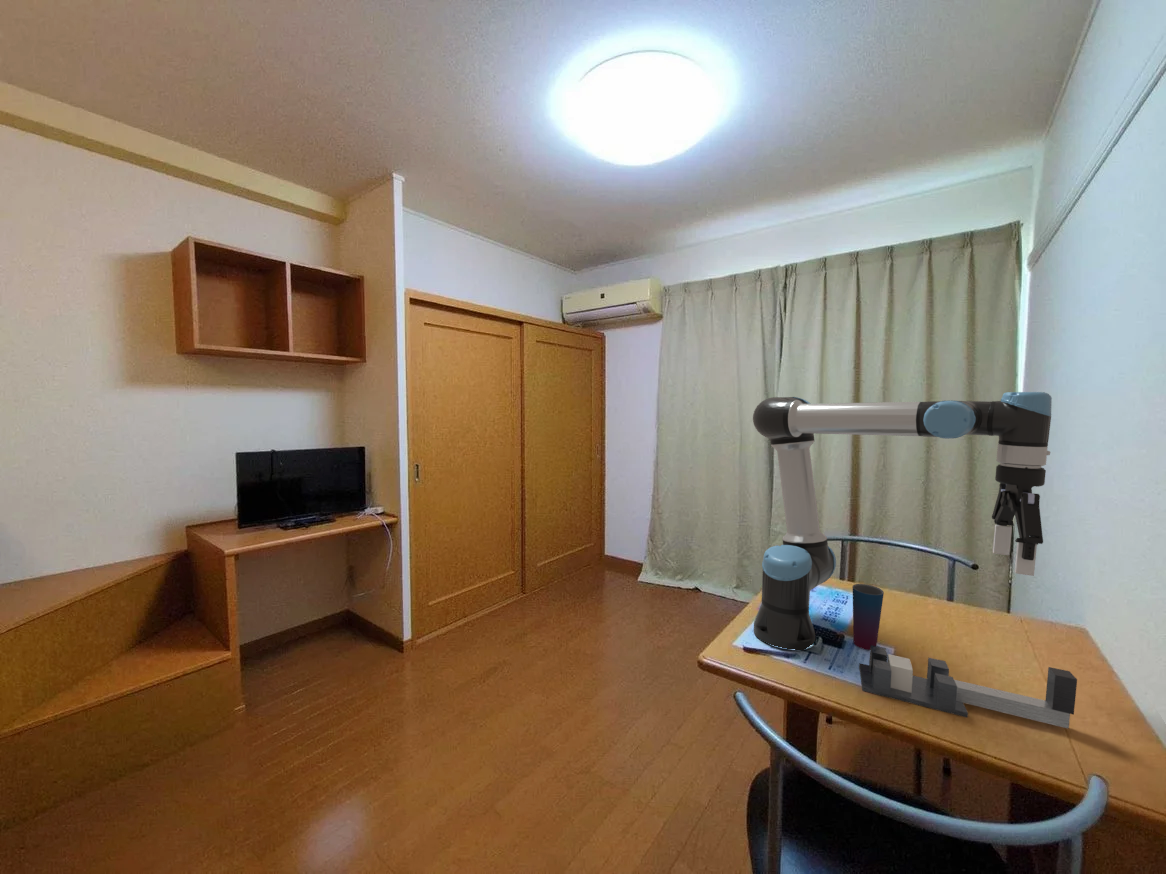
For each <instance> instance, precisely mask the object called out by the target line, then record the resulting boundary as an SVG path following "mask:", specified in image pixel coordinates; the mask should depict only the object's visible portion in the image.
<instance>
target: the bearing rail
mask: <svg viewBox="0 0 1166 874" xmlns="http://www.w3.org/2000/svg"><path fill="white" fill-rule="evenodd" d="M868 663H869V664H865V663H862V662H859V664H858V669H859V675H860V682H861V683H860V684H861V690H862V692H867V693H870V694H873V695H878V696H881V697H886V698H889V699H894V700H897V701H900V702H904V703H908V704H912V705H916V706H921V707H925V708H928V709H932V710H936V711H940V712H944V713H948V714H952V715H955V716H959V717H963V718H968V717H969V712H968V710H967V708H966V706H965V703H962V702H958V701H956V695H957V685H956V683H955V681H954V680H955V679H954V677H953V676H951V675H950V668H949V666H948V664H947V662H946V660H941V659H937V658H932V657H928V658H927V671H926V672H927V674H926V678H925V677H921V676H916V675H913V677H912V692H911V693H910V692H906V691H902V690H898V689H894V688H891V667H890V663H889V662H888V652H887V649H886V648H885V647H882V646H881V647H880V646H873V645H870V650H869V661H868Z"/></svg>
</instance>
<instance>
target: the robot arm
mask: <svg viewBox="0 0 1166 874" xmlns="http://www.w3.org/2000/svg"><path fill="white" fill-rule="evenodd" d="M1052 399H1053V398H1052V395H1050V394H1049V393H1047V392H1045V391H1044V392H1043V391H1011V392H1010V391H1009V392H1008V391H1006V392H1004V393H1003V394H1002V396H1001V398H1000V400H995V401H994V400H991V401H982V400H980V401H979V400H977V401H976V400H953V399H952V400H951V399H950V400H942V401H941V400H938V401H937V400H936V401H935V400H934V401H932V400H931V401H930V400H929V401H892V402H891V401H884V402H883V401H879V402H877V401H876V402H837V403H836V402H833V403H832V402H831V403H829V402H827V403H820V402H819V403H812V402H809V401H808V400H806V399H804V398H801V397H797V396H796V397H795V396H785V397H784V396H783V397H779V396H774V397H769V398H768V397H767V398H766V399H764V400H762V401H761V402H760V403H758V405H757V406H756V407H755V409H754V411H753V415H752V421H753V426H754V427H755V429H756V431H757V432H758V433H759V434H760V435H762V436H763V437H765V438H768V439H769V442H770V446H771V447H772V448H773V449H775V450H776V453H777V460H778V469H779V476H780V485H781V493H782V500H783V509H784V516H785V526H786V533H785V535H783V536H782V544H781V545H774V546H770V547H769V548H767V549H766V550H765V552H764V554H763V556H762V557H763V558H762V563H761V566H762V567H761V568H762V572H761V573H762V576H761V578H762V579H761V582H762V584H761V603H760V606H759V608H758V611H757V614H756V616H755V618H754V620H753V621H754V622H753V633H754V635H755V636H756V637H757V639H759V640H760V639H761V640H763V641H765V642H767V643H769V644H771V645H774V646H778V647H782V648H787V649H795V650H802V651H805V650H804V649H806V648H807V647H809V646H810V645H812V644H813V643H814V641H815V642H816V633H815V632H816V631H815V628H814V625H813V622H812V618H811V615H810V596H811V591H812V590H813V589H815V588H817V587H818V586H819V585H822V584H823V583H825V582H827V581H828V580H829V579H830V578H831V577H832V575H834V573H835V570H836V567H837V558H836V555H835V552H834V551H833V549H832V548H831V547H830V546H829V544H828V538H827V536H826V535H825V534H824V533H822V532H821V529H820V528H821V527H820V522H819V521H820V519H819V512H818V505H817V498H816V497H817V496H816V489H815V482H814V475H813V474H814V473H813V465H812V459H811V450H810V448H811V446H812V445H813V444H815V435H816V434H817V435H818V434H819V435H820V434H821V435H822V434H823V435H855V436H856V435H857V436H858V435H860V436H892V437H893V436H898V437H899V436H900V437H903V436H904V437H922V438H923V437H925V438H926V437H928V438H931V437H933V438H939V439H958V438H961V437H964V436H965V435H967V436H970V435H971V436H990V437H995V436H996V437H998V443H997V451H996V462H997V463H999V464H997V465H996V467H995V477H994V478H995V481H996V482H998V483H999V486H998V487H999V488H998V492H997V493H998V494H997V498H996V501H995V503H994V508H993V510H992V514H991V519H992V520H993V522H994V524H995V525H994V534H993V542H992V543H993V544H992V553H993V554H997V555H1004V556H1010V551H1011V541H1012V530H1013V529H1012V528H1013V527H1014V526H1015V524H1014V521H1013V520H1014V519H1015V521H1016V528H1017V531H1018V537H1016V538H1015V540H1014V542H1016V552H1015V553H1016V554H1015V564H1014V573H1015V574H1016V575H1024V576H1030V577H1031V576H1032V577H1035V569H1036V558H1037V557H1036V556H1037V549H1038V548H1037V547H1038V545H1039V544H1040V545H1043V543H1044V539H1043V538H1044V537H1043V528H1042V519H1041V517H1042V516H1041V510H1040V509H1041V508H1040V498H1041V495H1040V494H1039V493H1033V491H1032V488H1033V487H1038V488H1039V487H1043V486H1045V483H1046V469H1045V468H1044V467H1043V466H1046V465H1047V459H1048V458H1047V457H1048V456H1050V455H1051V451H1050V450H1048V449H1049V448H1048V446H1049V438H1050V429H1051V422H1052V421H1051V420H1052V403H1053V401H1052ZM814 434H815V435H814ZM1014 517H1015V518H1014ZM1012 526H1013V527H1012ZM761 640H760V641H761ZM763 641H762V642H763ZM765 642H764V643H765ZM767 643H766V644H767ZM769 644H768V645H769ZM771 645H770V646H771ZM774 646H773V647H774Z"/></svg>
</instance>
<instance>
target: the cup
mask: <svg viewBox="0 0 1166 874" xmlns="http://www.w3.org/2000/svg"><path fill="white" fill-rule="evenodd" d="M884 594H885V593H884V590H883V589H881V588H879V587H877V586H875V585H871V584H867V583H866V584H865V583H856V584H853V585H852V631H853V632H852V633H853V636H852V637H853V641H852V642H853V644H854V645H855V647H858V648H859V649H861V650H866V651H870V645H873V646H877V645H878V638H879V631H880V630H879V628H880V621H881V616H882V610H883V609H882V607H883V601H884Z"/></svg>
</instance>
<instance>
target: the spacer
mask: <svg viewBox="0 0 1166 874" xmlns="http://www.w3.org/2000/svg"><path fill="white" fill-rule="evenodd" d="M887 655H888V657H887V662H889V663H890V667H891V688H894V689H898V690H902V691H906V692H910V693H911V692H912V677H913V676H914V670H913V666H912V663H911V659H910V658H908V657H904V656H899V655H898V656H897V655H893V654H890V653H887Z"/></svg>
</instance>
